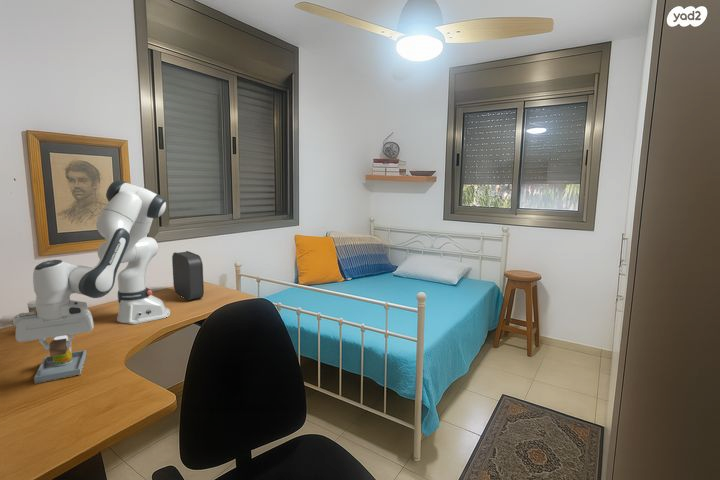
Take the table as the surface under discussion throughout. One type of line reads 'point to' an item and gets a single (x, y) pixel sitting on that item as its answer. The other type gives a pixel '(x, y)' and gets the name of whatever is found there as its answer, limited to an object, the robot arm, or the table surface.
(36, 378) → the tray
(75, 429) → the table surface
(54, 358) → the supplement bottle
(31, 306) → the sprinkles bottle
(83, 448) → the table surface
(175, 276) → the speaker
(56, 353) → the walnut block
